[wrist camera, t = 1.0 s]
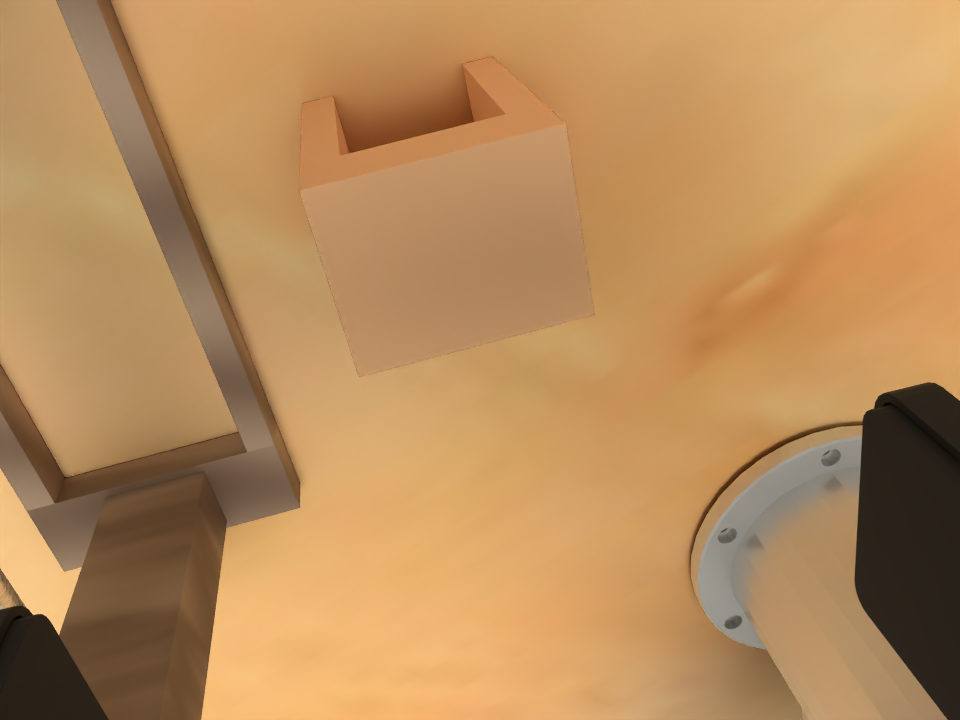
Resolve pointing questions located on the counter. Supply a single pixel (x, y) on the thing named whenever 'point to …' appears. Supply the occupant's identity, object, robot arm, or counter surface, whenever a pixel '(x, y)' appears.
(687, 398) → the counter surface
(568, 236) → the u-slot holder
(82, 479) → the stand
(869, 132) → the counter surface
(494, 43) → the counter surface
